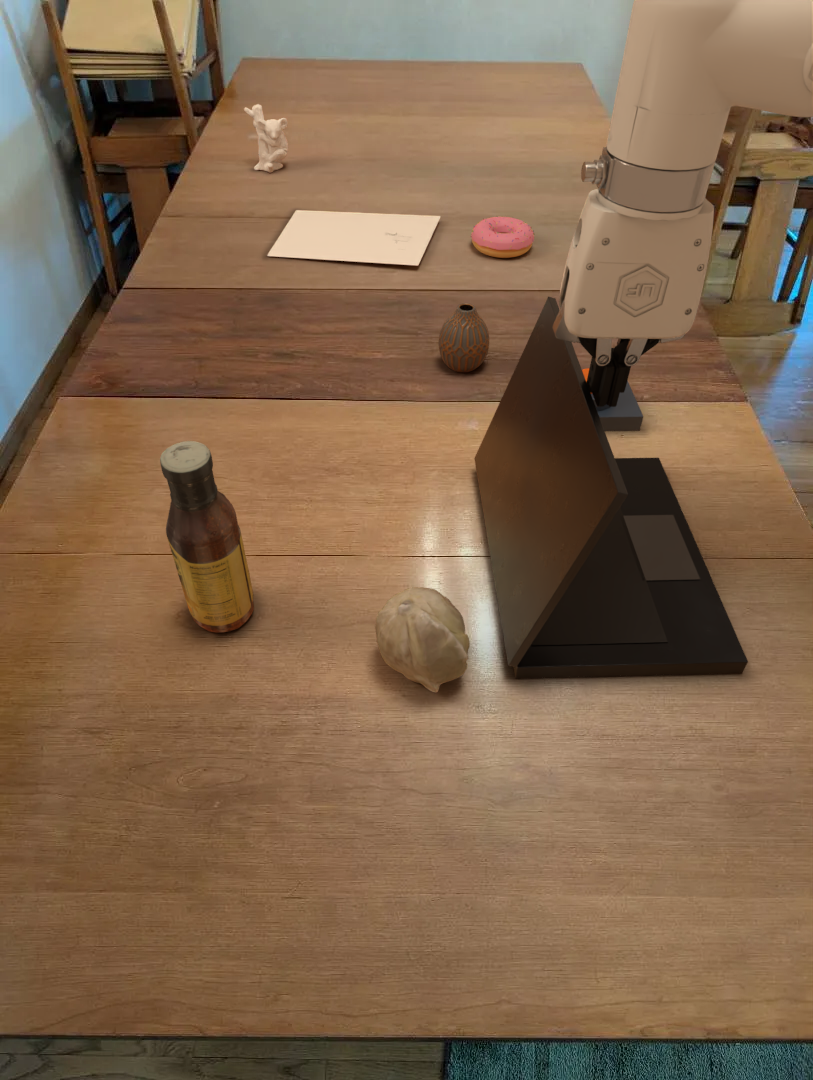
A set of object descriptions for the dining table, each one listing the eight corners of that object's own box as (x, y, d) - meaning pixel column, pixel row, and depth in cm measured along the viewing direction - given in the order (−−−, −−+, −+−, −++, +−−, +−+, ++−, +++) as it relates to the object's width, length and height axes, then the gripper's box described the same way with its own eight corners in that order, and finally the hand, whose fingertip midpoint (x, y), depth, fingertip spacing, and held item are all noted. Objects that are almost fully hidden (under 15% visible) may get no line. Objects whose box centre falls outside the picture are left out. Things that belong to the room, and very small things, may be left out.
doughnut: (488, 266, 134) (491, 241, 131) (459, 240, 141) (460, 217, 138) (544, 255, 137) (547, 231, 134) (512, 231, 144) (515, 208, 141)
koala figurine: (246, 172, 164) (238, 109, 155) (256, 161, 169) (249, 99, 160) (285, 176, 163) (280, 112, 154) (295, 164, 168) (290, 102, 159)
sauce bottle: (205, 584, 80) (167, 422, 66) (264, 594, 79) (238, 432, 65) (179, 633, 75) (132, 470, 62) (241, 644, 74) (207, 481, 61)
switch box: (623, 391, 106) (629, 365, 104) (639, 431, 100) (646, 404, 97) (534, 392, 106) (538, 366, 103) (545, 432, 100) (549, 405, 97)
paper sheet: (413, 276, 130) (413, 270, 129) (252, 258, 136) (251, 252, 135) (449, 221, 146) (449, 215, 145) (303, 207, 152) (302, 201, 152)
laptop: (655, 469, 94) (659, 456, 93) (742, 673, 73) (748, 661, 71) (480, 471, 94) (481, 459, 92) (515, 679, 72) (517, 666, 71)
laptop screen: (556, 298, 79) (548, 296, 78) (629, 494, 57) (618, 492, 57) (481, 459, 92) (474, 458, 92) (517, 667, 71) (508, 666, 71)
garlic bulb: (458, 706, 73) (489, 670, 64) (366, 702, 71) (385, 666, 63) (453, 611, 77) (481, 566, 69) (367, 606, 76) (385, 559, 67)
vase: (462, 347, 114) (465, 289, 108) (497, 366, 111) (503, 308, 105) (427, 363, 111) (429, 305, 105) (462, 384, 107) (466, 325, 101)
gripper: (559, 198, 53) (524, 423, 66) (776, 201, 54) (699, 423, 67) (541, 160, 59) (511, 374, 71) (738, 163, 59) (674, 375, 72)
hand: (602, 397), depth 69 cm, fingers closed
